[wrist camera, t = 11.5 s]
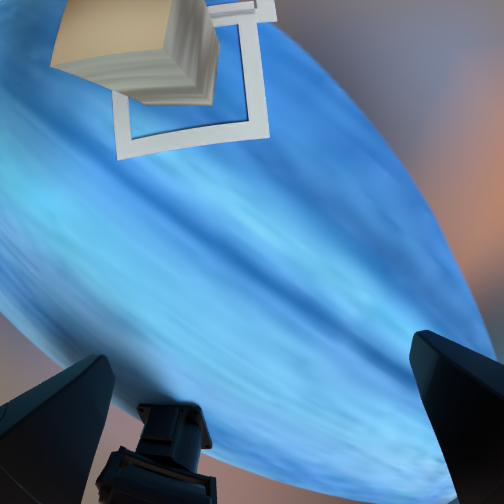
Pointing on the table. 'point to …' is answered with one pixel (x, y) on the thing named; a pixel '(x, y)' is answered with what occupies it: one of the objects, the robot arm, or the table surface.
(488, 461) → the robot arm
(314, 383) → the table surface
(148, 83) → the beech pillar
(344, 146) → the table surface
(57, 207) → the table surface
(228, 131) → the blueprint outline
